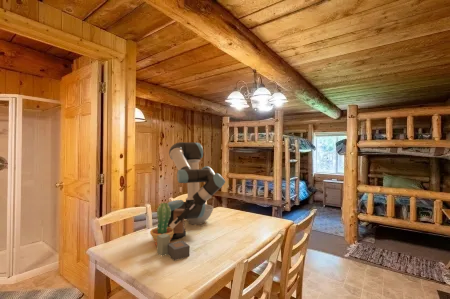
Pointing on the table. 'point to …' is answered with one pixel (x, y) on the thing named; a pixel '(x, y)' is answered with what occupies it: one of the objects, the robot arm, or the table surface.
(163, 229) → the potted cactus
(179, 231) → the walnut block
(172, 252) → the charcoal base block
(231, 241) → the table surface
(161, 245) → the sage block
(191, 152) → the robot arm
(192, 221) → the decorative bowl
